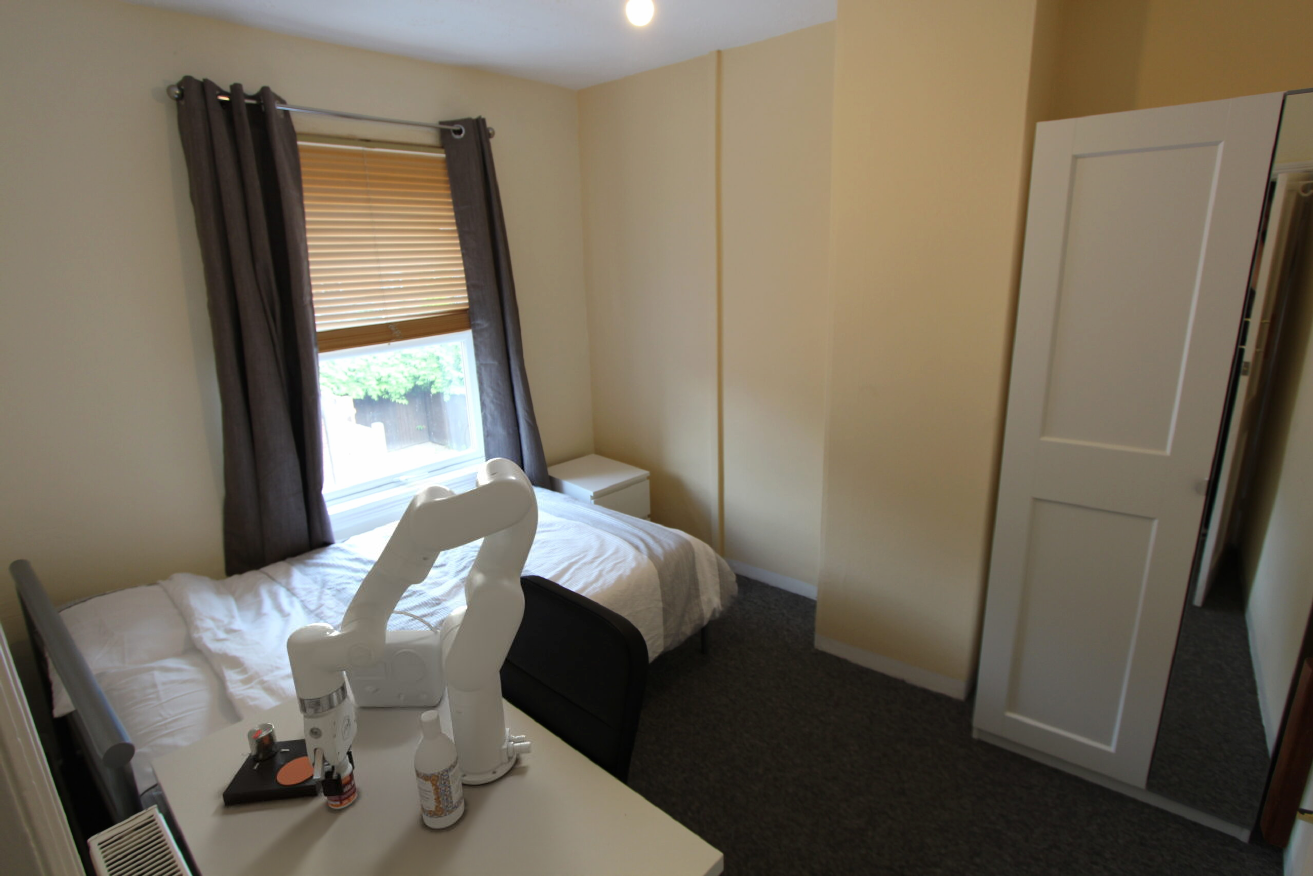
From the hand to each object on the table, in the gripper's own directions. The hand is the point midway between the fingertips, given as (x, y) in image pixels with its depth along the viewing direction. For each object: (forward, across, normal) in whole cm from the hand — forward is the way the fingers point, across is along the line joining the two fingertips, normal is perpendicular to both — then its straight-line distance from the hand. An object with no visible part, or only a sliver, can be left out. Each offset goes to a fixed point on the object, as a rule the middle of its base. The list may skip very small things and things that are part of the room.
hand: (339, 781), depth 118 cm
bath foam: (+4, -6, -19) cm, 20 cm away
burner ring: (+1, +6, +10) cm, 11 cm away
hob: (+4, +8, +13) cm, 16 cm away
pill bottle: (+4, 0, 0) cm, 4 cm away
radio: (+4, +27, -3) cm, 28 cm away
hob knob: (+1, +11, +18) cm, 21 cm away
